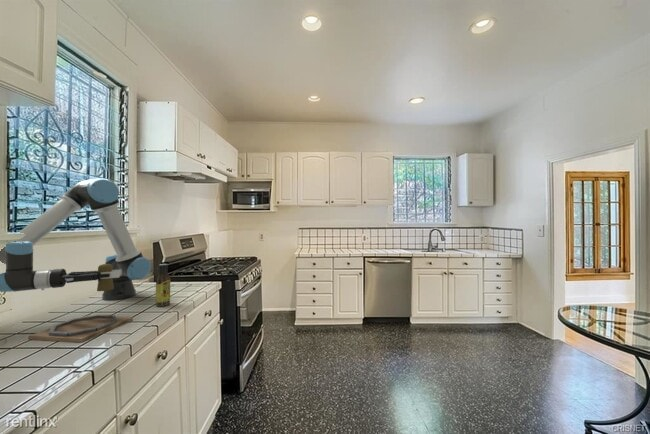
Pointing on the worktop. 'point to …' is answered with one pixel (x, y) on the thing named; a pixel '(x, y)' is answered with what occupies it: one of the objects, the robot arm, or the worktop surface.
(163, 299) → the sauce bottle
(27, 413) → the worktop surface
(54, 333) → the steel ring
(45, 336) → the walnut board
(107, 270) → the cork
